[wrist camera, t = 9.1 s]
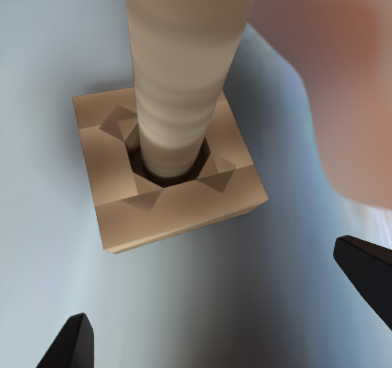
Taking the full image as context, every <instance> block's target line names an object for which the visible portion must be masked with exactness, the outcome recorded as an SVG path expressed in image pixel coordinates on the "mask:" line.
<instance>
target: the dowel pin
mask: <svg viewBox="0 0 392 368" xmlns="http://www.w3.org/2000/svg"><path fill="white" fill-rule="evenodd" d="M254 1H255V0H126V9H127V18H128V28H129V38H130V48H131V57H132V67H133V77H134V87H135V96H136V106H137V116H138V126H139V135H140V145H141V155H142V164H143V172H144V175H145V177H146V178H147V180H148V181H150V182H152V183H154V184H156V185H158V186H160V187H162V188H166V187H170V186H174V185H178V184H181V183H185V182H186V181H187V180H188V178H189V177H190V174H191V171H192V169H193V166H194V163H195V161H196V158H197V155H198V152H199V150H200V147H201V144H202V142H203V139H204V136H205V134H206V131H207V128H208V125H209V123H210V120H211V117H212V115H213V112H214V109H215V107H216V104H217V101H218V98H219V96H220V93H221V90H222V88H223V85H224V82H225V80H226V77H227V74H228V71H229V69H230V66H231V63H232V61H233V58H234V55H235V53H236V50H237V47H238V44H239V42H240V39H241V36H242V34H243V31H244V28H245V26H246V23H247V20H248V17H249V15H250V12H251V9H252V7H253V4H254Z"/></svg>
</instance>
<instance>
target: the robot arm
mask: <svg viewBox="0 0 392 368" xmlns="http://www.w3.org/2000/svg"><path fill="white" fill-rule="evenodd" d="M333 256H334V259H335V261H336V262H337V264H338V265H339V266H340V268H341V269H342V270H343V272H344V273H345V274H346V276H347V277H348V279H349V280H350V281H351V283H352V284H353V285H354V287H355V288H356V289H357V291H358V292H359V293H360V295H361V296H362V297H363V298H364V300H365V301H366V302H367V303H368V304H369V305H370V307H371V308H372V309H373V310H374V311H375V312H376V313H377V314H378V316H379V317H380V318H381V319H382V320H383V321H384V322H385V324H386V325H387V326H388V327H389V328H390V329H391V330H392V250H391V249H388V248H385V247H382V246H379V245H376V244H373V243H370V242H367V241H364V240H361V239H359V238H356V237H353V236H350V235H345V236H341V237H338V238H337V239H336V242H335V247H334V252H333ZM36 368H94V332H93V328H92V326H91V324H90V322H89V320H88V318H87V316H86V314H85V313H80V314H76V315H73V316H71V317H69V318H68V320H67V321H66V323H65V324H64V326H63V327H62V329H61V330H60V332H59V333H58V335H57V336H56V338H55V340H54V341H53V343H52V344H51V346H50V347H49V349H48V350H47V352H46V353H45V355H44V356H43V358H42V359H41V361H40V362H39V364H38V365H37V367H36Z"/></svg>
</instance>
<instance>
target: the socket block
mask: <svg viewBox="0 0 392 368" xmlns="http://www.w3.org/2000/svg"><path fill="white" fill-rule="evenodd" d="M72 100H73V105H74V109H75V114H76V119H77V124H78V129H79V134H80V138H81V143H82V148H83V153H84V158H85V163H86V167H87V172H88V177H89V182H90V187H91V192H92V196H93V201H94V206H95V211H96V216H97V221H98V225H99V230H100V235H101V240H102V245H103V250H106V251H109V252H112V253H115V254H117V253H120V252H123V251H127V250H130V249H133V248H136V247H140V246H143V245H146V244H149V243H152V242H156V241H159V240H162V239H165V238H168V237H172V236H175V235H178V234H181V233H185V232H188V231H191V230H194V229H197V228H201V227H204V226H207V225H210V224H213V223H217V222H220V221H223V220H226V219H230V218H233V217H236V216H239V215H242V214H246V213H249V212H251V211H252V210H254V209H255V208H257V207H258V206H260V205H261V204H263V203H264V202H266V201H267V200H269V199H268V197H267V194H266V192H265V189H264V187H263V185H262V182H261V180H260V178H259V175H258V173H257V171H256V168H255V166H254V163H253V161H252V159H251V156H250V154H249V152H248V149H247V147H246V144H245V142H244V140H243V137H242V135H241V133H240V130H239V128H238V125H237V123H236V121H235V118H234V116H233V114H232V111H231V109H230V107H229V104H228V102H227V99H226V97H225V95H224V92H223V90H221V93H220V96H219V98H218V101H217V104H216V107H215V109H214V112H213V115H212V117H211V120H210V123H209V125H208V128H207V131H206V134H205V136H204V139H203V142H202V144H201V147H200V150H199V152H198V155H197V158H196V161H195V163H194V166H193V169H192V171H191V174H190V177H189V178H188V180H187V181H186V182H185V183H181V184H178V185H174V186H170V187H166V188H162V187H160V186H158V185H156V184H154V183H152V182H150V181H148V180H147V178H146V177H145V175H144V172H143V164H142V155H141V145H140V135H139V126H138V116H137V106H136V96H135V87H129V88H123V89H117V90H111V91H105V92H100V93H94V94H88V95H82V96H76V97H72Z"/></svg>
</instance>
